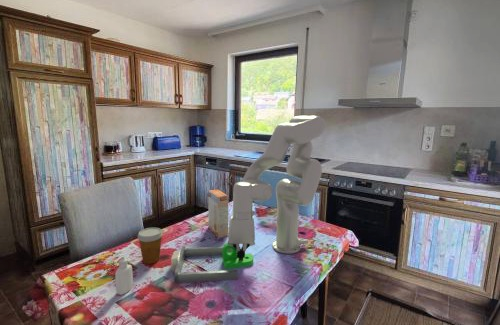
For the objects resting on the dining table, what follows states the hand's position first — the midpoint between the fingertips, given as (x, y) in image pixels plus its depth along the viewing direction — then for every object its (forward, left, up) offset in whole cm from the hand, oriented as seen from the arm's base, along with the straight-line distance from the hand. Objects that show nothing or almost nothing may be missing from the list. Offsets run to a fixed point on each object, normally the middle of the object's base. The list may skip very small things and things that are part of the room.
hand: (240, 259), depth 103 cm
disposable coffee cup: (+36, -7, -3) cm, 37 cm away
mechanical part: (+1, -2, -3) cm, 4 cm away
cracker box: (+9, -32, -3) cm, 34 cm away
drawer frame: (+13, 0, -3) cm, 13 cm away
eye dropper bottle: (+40, +12, -3) cm, 41 cm away
